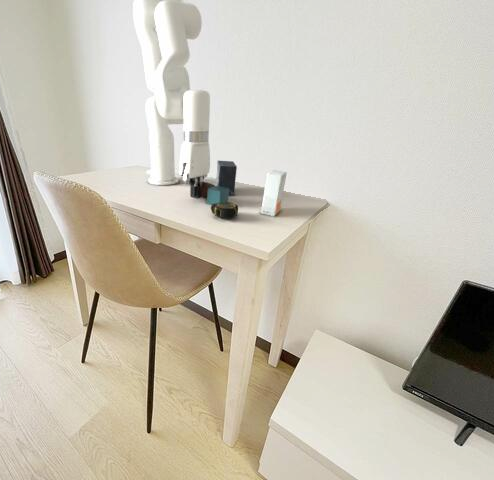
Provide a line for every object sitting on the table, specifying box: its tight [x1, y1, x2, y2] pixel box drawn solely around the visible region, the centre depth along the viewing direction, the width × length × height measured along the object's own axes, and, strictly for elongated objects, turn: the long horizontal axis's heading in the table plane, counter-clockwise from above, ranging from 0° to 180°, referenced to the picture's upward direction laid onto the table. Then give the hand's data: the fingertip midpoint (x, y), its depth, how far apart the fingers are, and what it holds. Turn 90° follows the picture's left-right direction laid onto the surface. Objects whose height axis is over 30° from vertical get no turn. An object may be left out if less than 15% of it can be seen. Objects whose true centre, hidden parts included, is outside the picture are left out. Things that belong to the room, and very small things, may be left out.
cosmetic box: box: [260, 169, 288, 217], centre depth 76 cm, size 6×4×12 cm
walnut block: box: [200, 181, 216, 199], centre depth 88 cm, size 5×5×5 cm
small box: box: [215, 160, 238, 196], centre depth 95 cm, size 11×6×10 cm, turn 179°
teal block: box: [206, 185, 230, 206], centre depth 84 cm, size 5×5×5 cm
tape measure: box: [210, 201, 239, 220], centre depth 73 cm, size 7×7×4 cm
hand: (195, 197), depth 85 cm, fingers closed
